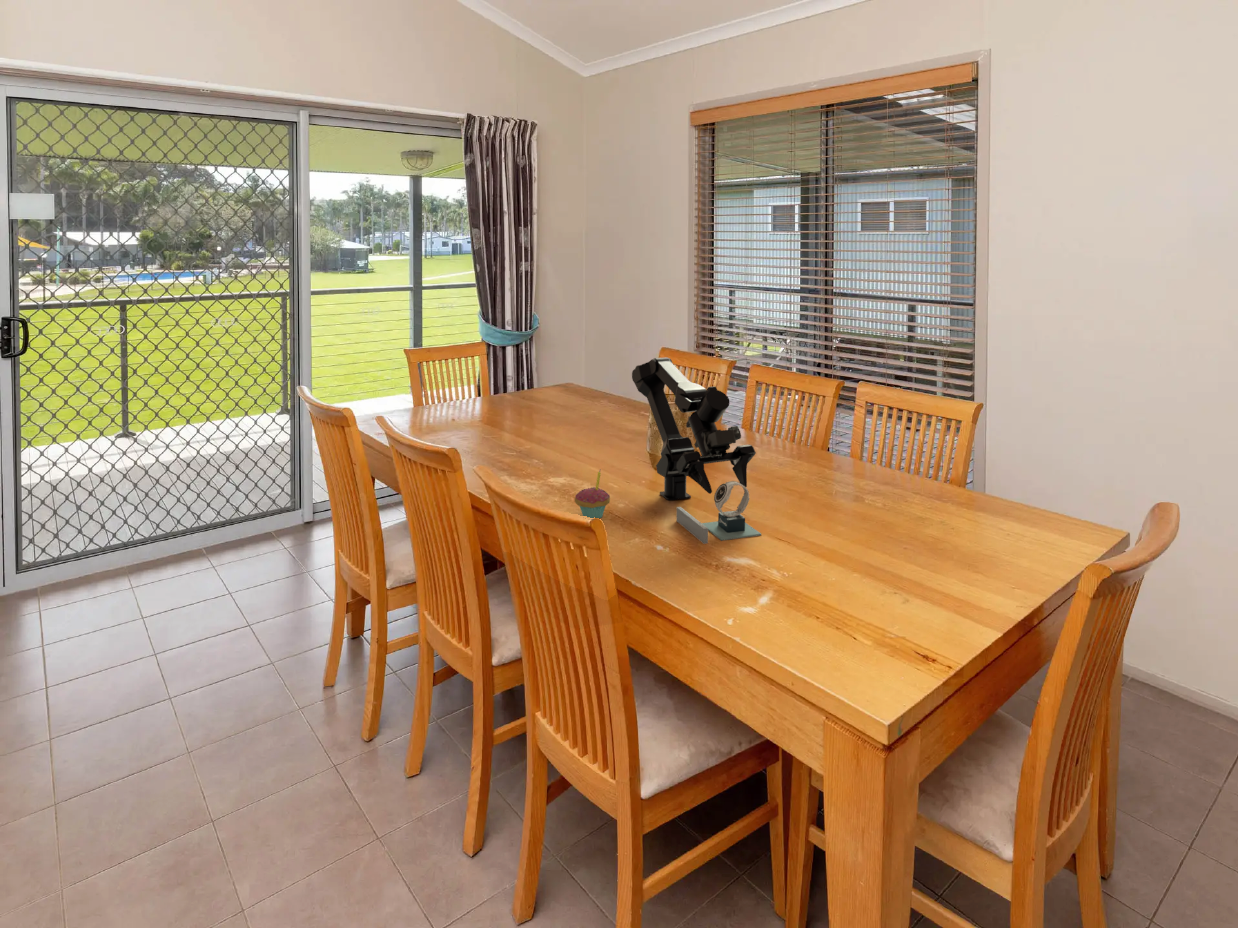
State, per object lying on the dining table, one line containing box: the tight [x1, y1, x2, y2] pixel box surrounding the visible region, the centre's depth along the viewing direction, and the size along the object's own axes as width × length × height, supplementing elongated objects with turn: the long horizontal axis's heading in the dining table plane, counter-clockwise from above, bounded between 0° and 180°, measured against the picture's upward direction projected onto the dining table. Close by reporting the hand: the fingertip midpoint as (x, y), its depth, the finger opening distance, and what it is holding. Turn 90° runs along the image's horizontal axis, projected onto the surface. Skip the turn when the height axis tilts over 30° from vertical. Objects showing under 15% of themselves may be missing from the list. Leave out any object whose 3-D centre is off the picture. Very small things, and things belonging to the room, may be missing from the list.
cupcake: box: [574, 469, 611, 519], centre depth 200 cm, size 9×8×12 cm
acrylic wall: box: [675, 506, 709, 545], centre depth 191 cm, size 16×1×4 cm, turn 19°
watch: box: [713, 480, 750, 533], centre depth 191 cm, size 6×8×11 cm
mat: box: [701, 520, 762, 542], centre depth 192 cm, size 11×10×1 cm
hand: (728, 490), depth 191 cm, fingers open, 9 cm apart
